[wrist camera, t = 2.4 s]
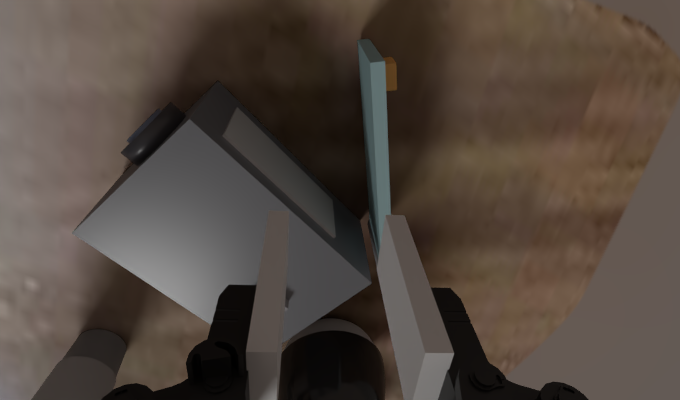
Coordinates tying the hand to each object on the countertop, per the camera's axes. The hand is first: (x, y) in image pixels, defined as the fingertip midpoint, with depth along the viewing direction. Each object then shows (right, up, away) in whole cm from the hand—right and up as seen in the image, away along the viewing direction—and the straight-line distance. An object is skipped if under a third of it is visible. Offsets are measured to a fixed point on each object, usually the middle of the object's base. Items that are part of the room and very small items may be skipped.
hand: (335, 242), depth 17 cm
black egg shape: (-1, -12, +27) cm, 30 cm away
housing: (-7, +2, +18) cm, 19 cm away
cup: (-24, -13, +25) cm, 37 cm away
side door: (+3, +6, +16) cm, 17 cm away
